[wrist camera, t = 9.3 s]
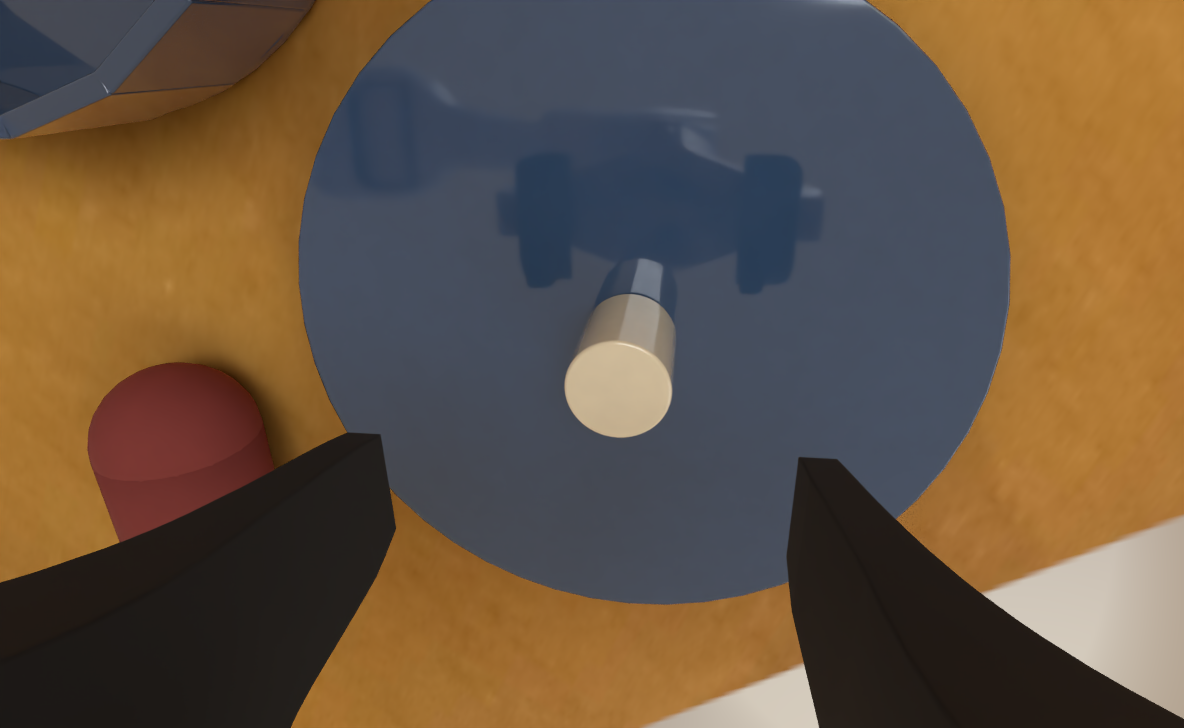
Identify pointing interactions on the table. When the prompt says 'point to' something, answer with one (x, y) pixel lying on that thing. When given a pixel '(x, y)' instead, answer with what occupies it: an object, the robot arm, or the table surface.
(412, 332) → the lid
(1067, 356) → the table surface
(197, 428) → the sweet potato
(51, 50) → the dark blue bowl
